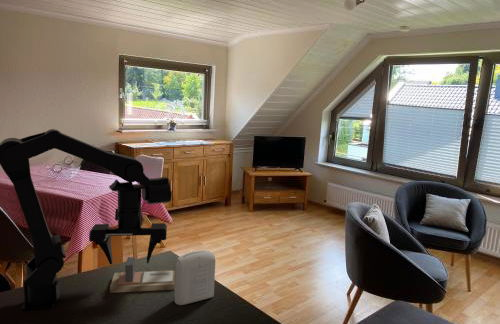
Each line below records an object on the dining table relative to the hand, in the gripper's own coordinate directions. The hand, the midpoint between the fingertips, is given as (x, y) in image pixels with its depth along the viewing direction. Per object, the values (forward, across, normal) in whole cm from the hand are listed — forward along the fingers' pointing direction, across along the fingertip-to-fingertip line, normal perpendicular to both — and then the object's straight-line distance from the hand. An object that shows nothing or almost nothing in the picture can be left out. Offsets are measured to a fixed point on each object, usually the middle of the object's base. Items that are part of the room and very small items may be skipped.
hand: (129, 263), depth 100 cm
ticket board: (+6, -4, 0) cm, 7 cm away
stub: (+4, 0, 0) cm, 4 cm away
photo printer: (+6, -17, +9) cm, 20 cm away
